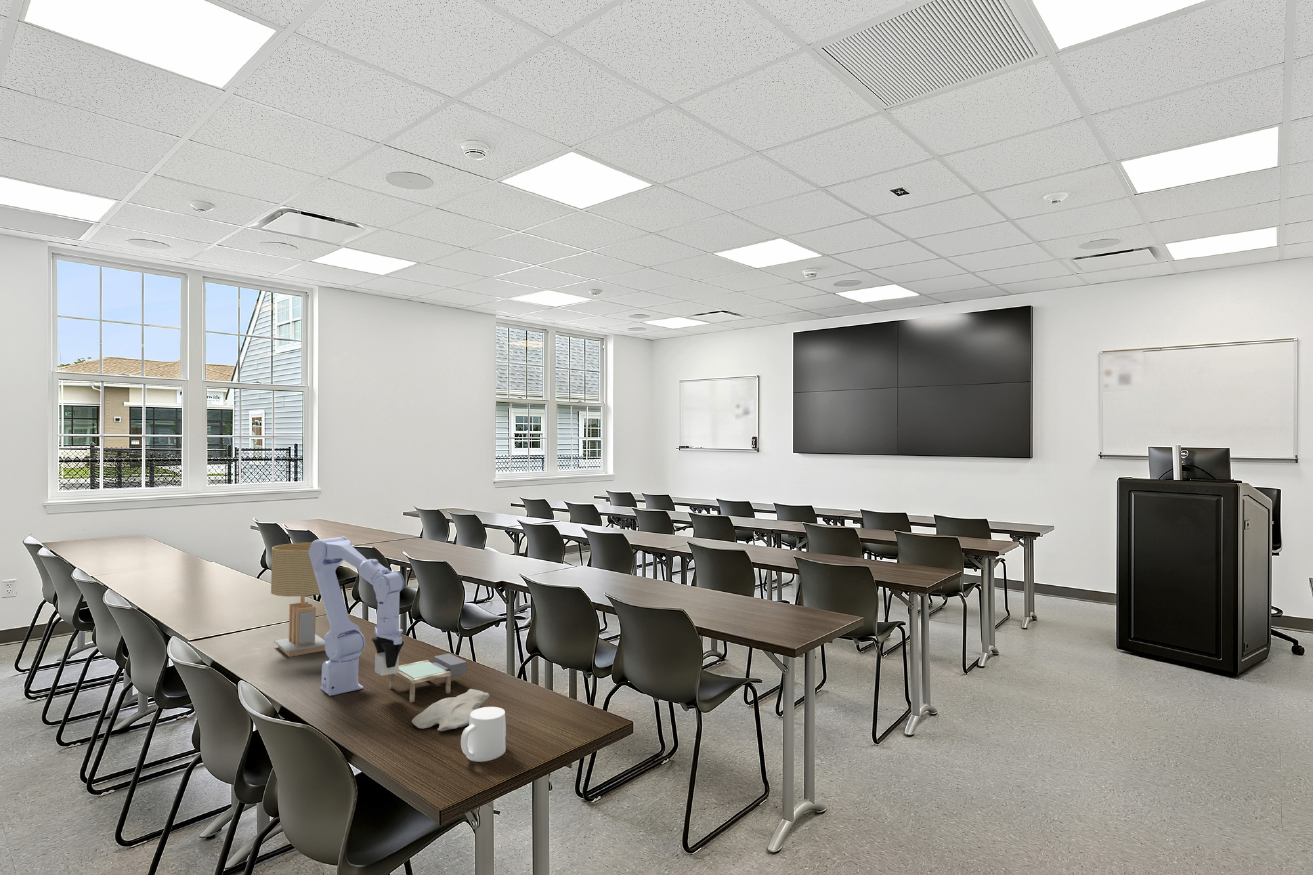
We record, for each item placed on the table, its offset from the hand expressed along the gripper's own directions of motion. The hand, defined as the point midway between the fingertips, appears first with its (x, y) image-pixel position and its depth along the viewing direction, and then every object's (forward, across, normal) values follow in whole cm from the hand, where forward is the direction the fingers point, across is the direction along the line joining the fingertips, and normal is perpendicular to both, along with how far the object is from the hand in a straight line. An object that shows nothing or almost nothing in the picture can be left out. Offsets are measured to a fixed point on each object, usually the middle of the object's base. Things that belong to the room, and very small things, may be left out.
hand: (387, 664), depth 197 cm
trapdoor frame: (+9, 0, -10) cm, 14 cm away
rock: (+10, -27, -8) cm, 30 cm away
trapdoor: (+6, 0, -13) cm, 15 cm away
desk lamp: (+10, +64, +4) cm, 65 cm away
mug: (+10, -49, -3) cm, 50 cm away
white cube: (+2, 0, 0) cm, 2 cm away
